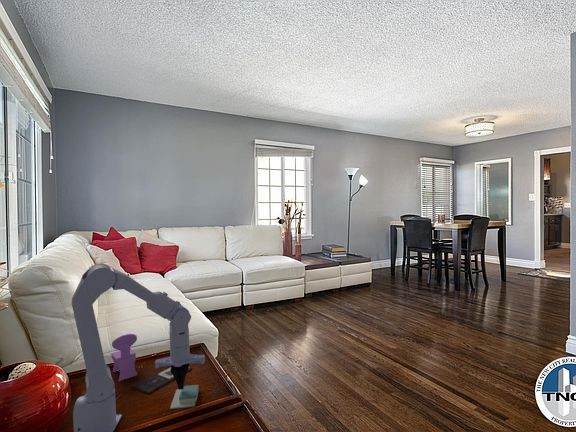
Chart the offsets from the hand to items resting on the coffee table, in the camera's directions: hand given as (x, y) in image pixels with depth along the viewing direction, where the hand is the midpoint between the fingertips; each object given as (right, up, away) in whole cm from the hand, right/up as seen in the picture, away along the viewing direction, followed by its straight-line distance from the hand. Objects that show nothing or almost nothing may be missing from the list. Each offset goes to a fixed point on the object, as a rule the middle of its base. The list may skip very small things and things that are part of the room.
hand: (181, 387), depth 100 cm
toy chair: (-26, -4, +17) cm, 31 cm away
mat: (+1, -3, 0) cm, 4 cm away
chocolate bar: (-11, -4, +13) cm, 17 cm away
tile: (0, -2, 0) cm, 2 cm away
